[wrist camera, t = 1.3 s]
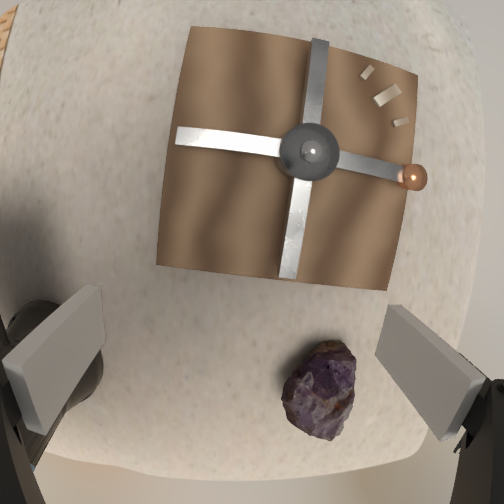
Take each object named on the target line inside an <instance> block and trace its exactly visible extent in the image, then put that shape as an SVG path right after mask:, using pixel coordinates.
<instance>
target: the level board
mask: <svg viewBox="0 0 504 504" xmlns="http://www.w3.org/2000/svg"><path fill="white" fill-rule="evenodd" d="M309 43H310V42H309V41H304V40H300V39H295V38H290V37H284V36H278V35H272V34H266V33H259V32H252V31H244V30H235V29H225V28H213V27H196V26H191V28H190V32H189V37H188V41H187V45H186V50H185V54H184V59H183V64H182V69H181V73H180V78H179V84H178V89H177V94H176V100H175V105H174V111H173V117H172V123H171V130H170V136H169V143H168V150H167V157H166V165H165V173H164V181H163V190H162V199H161V209H160V220H159V232H158V244H157V259H156V265H162V266H170V267H177V268H185V269H193V270H201V271H209V272H217V273H225V274H233V275H241V276H250V277H258V278H267V279H276V280H284V281H293V282H303V283H312V284H321V285H331V286H341V287H351V288H361V289H372V290H382V291H387V287H388V283H389V280H390V275H391V271H392V267H393V263H394V259H395V254H396V250H397V245H398V240H399V235H400V230H401V225H402V220H403V214H404V209H405V203H406V197H407V191H408V190H407V189H402V188H400V187H399V186H398V185H397V184H396V182H393V181H389V180H385V179H381V178H376V177H372V176H368V175H363V174H359V173H354V172H350V171H345V170H340V169H335V170H334V171H333V172H332V173H331V174H330V175H329V176H327V177H326V178H324V179H321V180H318V181H312V186H311V192H310V199H309V205H308V211H307V217H306V223H305V229H304V235H303V241H302V247H301V252H300V258H299V264H298V269H297V275H296V279H289V278H280V277H278V274H277V266H278V260H279V254H280V248H281V242H282V236H283V230H284V223H285V217H286V211H287V204H288V198H289V191H290V184H291V179H290V178H288V177H286V176H285V175H283V174H282V173H281V172H280V171H279V170H278V168H277V166H276V164H275V161H274V157H267V156H260V155H254V154H246V153H239V152H231V151H223V150H214V149H205V148H196V147H185V146H178V145H176V144H175V141H176V135H177V128H178V127H190V128H201V129H210V130H220V131H228V132H236V133H244V134H251V135H258V136H265V137H271V138H277V139H280V138H281V137H282V136H284V135H285V134H286V133H287V132H288V131H290V130H291V129H292V128H293V127H295V126H297V125H299V121H300V114H301V106H302V99H303V91H304V83H305V75H306V67H307V59H308V50H309ZM417 88H418V75H416V74H413V73H411V72H408V71H406V70H403V69H400V68H398V67H395V66H392V65H389V64H387V63H384V62H381V61H378V60H375V59H372V58H369V57H365V56H362V55H359V54H356V53H352V52H349V51H345V50H342V49H338V48H334V47H330V46H329V51H328V61H327V70H326V80H325V89H324V97H323V106H322V114H321V122H320V125H322V126H324V127H326V128H327V129H328V130H329V131H331V132H332V134H333V135H334V136H335V138H336V140H337V142H338V145H339V150H340V151H345V152H349V153H353V154H358V155H362V156H366V157H370V158H374V159H378V160H382V161H386V162H389V163H393V164H397V165H402V164H411V162H412V153H413V144H414V134H415V122H416V108H417Z"/></svg>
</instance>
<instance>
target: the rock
mask: <svg viewBox="0 0 504 504" xmlns="http://www.w3.org/2000/svg"><path fill="white" fill-rule="evenodd" d="M355 370H356V358H355V356H353V355H352V354H351V351H350V350H349V349H348V348H347V347H346V345H345V344H344V343H342V342H335V341H328V342H324V343H320V344H319V345H318V346H317V347H316V348H315V349H314V350H312V351H311V352H310V355H309V357H308V359H307V360H305V361H303V362H302V363H301V365H300V366H298V367H297V368H296V369H295V370H294V371H293V373H292V375H291V376H290V377H289V378H288V379H287V381H286V382H285V384H284V387H283V393H282V397H281V400H282V401H283V407H284V409H285V411H286V416H287V419H288V420H289V421H290V423H291V424H293V425H294V426H296V427H297V428H299V429H300V430H302V431H304V432H305V433H307V434H308V435H309V436H315V437H316V438H320V439H326V440H328V441H332V440H333V439H334V438H335V436H338V435H340V433H341V431H342V430H343V428H344V427H343V423H344V421H345V420H346V419H348V417H349V414H350V412H351V410H352V407H353V405H352V404H353V401H354V396H355V393H354V382H355Z"/></svg>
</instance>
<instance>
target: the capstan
mask: <svg viewBox="0 0 504 504" xmlns="http://www.w3.org/2000/svg"><path fill="white" fill-rule="evenodd" d="M328 51H329V41H325V40H320V39H316V38H312V40H311V42H310V43H309V50H308V59H307V67H306V75H305V83H304V91H303V99H302V106H301V114H300V121H299V125H297V126H295V127H293V128H292V129H291V130H290V131H288V132H287V133H286V134H285V135H284V136H282V137H281V138H280V139H277V138H271V137H265V136H258V135H251V134H244V133H236V132H228V131H220V130H210V129H201V128H190V127H178V128H177V135H176V141H175V144H176V145H178V146H185V147H196V148H205V149H214V150H223V151H231V152H239V153H246V154H254V155H260V156H267V157H274V161H275V164H276V166H277V168H278V170H279V171H280V172H281V173H282V174H283V175H285V176H286V177H288V178H290V179H291V184H290V191H289V198H288V204H287V211H286V217H285V223H284V230H283V236H282V242H281V248H280V254H279V260H278V266H277V274H278V277H280V278H289V279H296V275H297V269H298V264H299V258H300V252H301V247H302V241H303V235H304V229H305V223H306V217H307V211H308V205H309V199H310V192H311V186H312V181H318V180H321V179H324V178H326V177H327V176H329V175H330V174H331V173H332V172H333V171H334V170H335V169H340V170H345V171H350V172H354V173H359V174H363V175H368V176H372V177H376V178H381V179H385V180H389V181H393V182H396V184H397V185H398V186H399V187H400V188H402V189H407V190H414V191H420V190H422V189H423V188H424V187H425V186H426V183H427V173H426V170H425V169H424V168H423V167H422V166H421V165H419V164H402V165H397V164H393V163H389V162H386V161H382V160H378V159H374V158H370V157H366V156H362V155H358V154H353V153H349V152H345V151H340V150H339V145H338V142H337V140H336V138H335V136H334V135H333V134H332V132H331V131H329V130H328V129H327V128H326V127H324V126H322V125H320V122H321V114H322V106H323V97H324V89H325V80H326V70H327V61H328Z"/></svg>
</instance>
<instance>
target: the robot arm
mask: <svg viewBox="0 0 504 504" xmlns="http://www.w3.org/2000/svg"><path fill="white" fill-rule="evenodd" d="M105 341H106V339H105V330H104V320H103V308H102V295H101V286H96V285H88V284H86V285H84V286H83V287H82V288H81V289H80V290H79V291H77V292H76V293H75V294H74V295H73V296H71V297H70V298H69V299H68V300H67V301H66V302H64V303H63V304H62V305H61V306H60V305H57V304H55V303H52V302H48V301H34V302H31V303H28V304H27V305H25V306H24V307H22V308H21V309H20V310H18V311H17V312H16V313H15V314H14V316H13V317H12V319H11V320H10V322H9V325H8V328H7V329H6V330H5V327H4V325H3V322H2V319H1V316H0V504H45V501H44V499H43V496H42V494H41V492H40V489H39V486H38V484H37V481H36V479H35V476H34V473H33V472H34V470H35V467H36V465H37V463H38V461H39V459H40V457H41V456H42V454H43V452H44V450H45V448H46V446H47V444H48V443H49V441H50V439H51V437H52V435H53V434H54V432H55V430H56V428H57V426H58V425H59V423H60V421H61V419H62V418H63V416H64V414H65V413H66V412H67V411H68V410H70V409H71V408H72V407H74V406H75V405H77V404H78V403H79V402H82V401H84V400H85V399H87V398H88V397H90V396H91V395H92V393H93V392H94V391H95V389H96V387H97V386H98V384H99V382H100V380H101V377H102V373H103V362H102V357H101V353H100V348H101V347H102V345H103V344H104V342H105ZM375 356H376V357H377V358H378V360H379V361H380V362H381V364H382V365H383V366H384V367H385V369H386V370H387V371H388V373H389V374H390V375H391V377H392V378H393V379H394V381H395V382H396V383H397V385H398V386H399V387H400V389H401V390H402V391H403V393H404V394H405V395H406V397H407V398H408V399H409V401H410V402H411V403H412V405H413V406H414V407H415V409H416V410H417V411H418V413H419V414H420V415H421V417H422V418H423V419H424V421H425V422H426V424H427V425H428V426H429V428H430V429H431V430H432V432H433V433H434V435H435V436H436V437H437V439H438V440H439V441H440V442H442V441H445V440H448V439H451V438H454V437H455V436H456V434H457V432H458V431H459V429H460V427H461V425H462V426H463V427H464V428H465V429H466V432H465V433H464V435H463V437H462V438H461V440H460V441H459V443H458V444H457V446H456V448H455V449H454V453H456V451H457V450H458V449H459V448H461V449H460V453H459V454H460V455H459V462H458V468H457V473H456V478H455V483H454V488H453V492H452V497H451V501H450V504H504V380H503V379H495V380H494V381H491V380H490V379H489V378H488V377H486V376H485V375H484V374H483V373H482V372H481V371H480V370H479V369H478V368H476V367H475V366H473V364H472V363H471V362H470V361H468V360H467V359H466V358H465V357H464V356H463V355H462V354H460V353H458V352H457V351H456V350H455V349H453V348H452V347H451V346H450V345H449V344H448V343H446V342H445V341H444V340H443V339H442V338H441V337H439V336H438V335H437V334H436V333H435V332H433V331H432V330H431V329H430V328H429V327H427V326H426V325H425V324H424V323H423V322H421V321H420V320H419V319H418V318H417V317H415V316H414V315H413V314H412V313H411V312H409V311H408V310H407V309H406V308H404V307H403V306H402V305H388V307H387V311H386V315H385V319H384V323H383V327H382V331H381V334H380V338H379V342H378V345H377V348H376V352H375Z"/></svg>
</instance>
